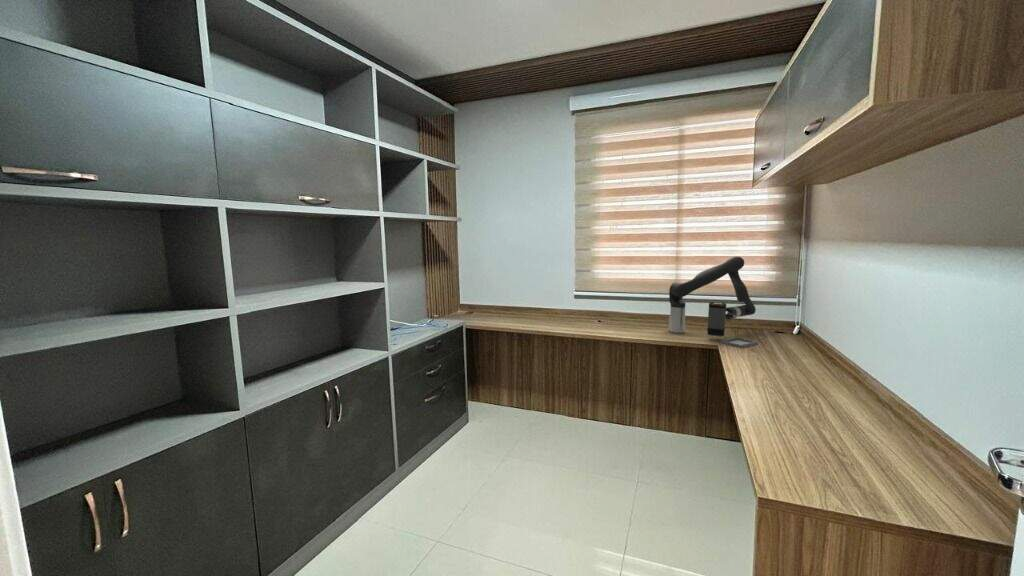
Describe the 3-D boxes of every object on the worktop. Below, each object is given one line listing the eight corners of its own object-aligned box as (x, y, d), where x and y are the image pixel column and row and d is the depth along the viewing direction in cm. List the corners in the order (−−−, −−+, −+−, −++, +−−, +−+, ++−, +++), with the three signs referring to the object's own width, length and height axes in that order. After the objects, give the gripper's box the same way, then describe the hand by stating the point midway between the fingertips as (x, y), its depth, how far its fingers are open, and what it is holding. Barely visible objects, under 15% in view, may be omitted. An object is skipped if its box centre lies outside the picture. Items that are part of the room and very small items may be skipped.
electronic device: (724, 333, 245) (726, 302, 240) (723, 337, 240) (726, 305, 235) (707, 331, 249) (709, 301, 244) (706, 335, 244) (708, 304, 239)
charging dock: (720, 343, 236) (720, 340, 235) (735, 339, 243) (736, 337, 243) (741, 348, 224) (741, 345, 224) (757, 343, 232) (757, 341, 232)
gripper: (721, 305, 257) (704, 308, 249) (743, 308, 245) (726, 311, 237) (720, 316, 258) (704, 319, 250) (742, 320, 246) (726, 323, 237)
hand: (715, 315), depth 243 cm, fingers closed on electronic device, 5 cm apart
